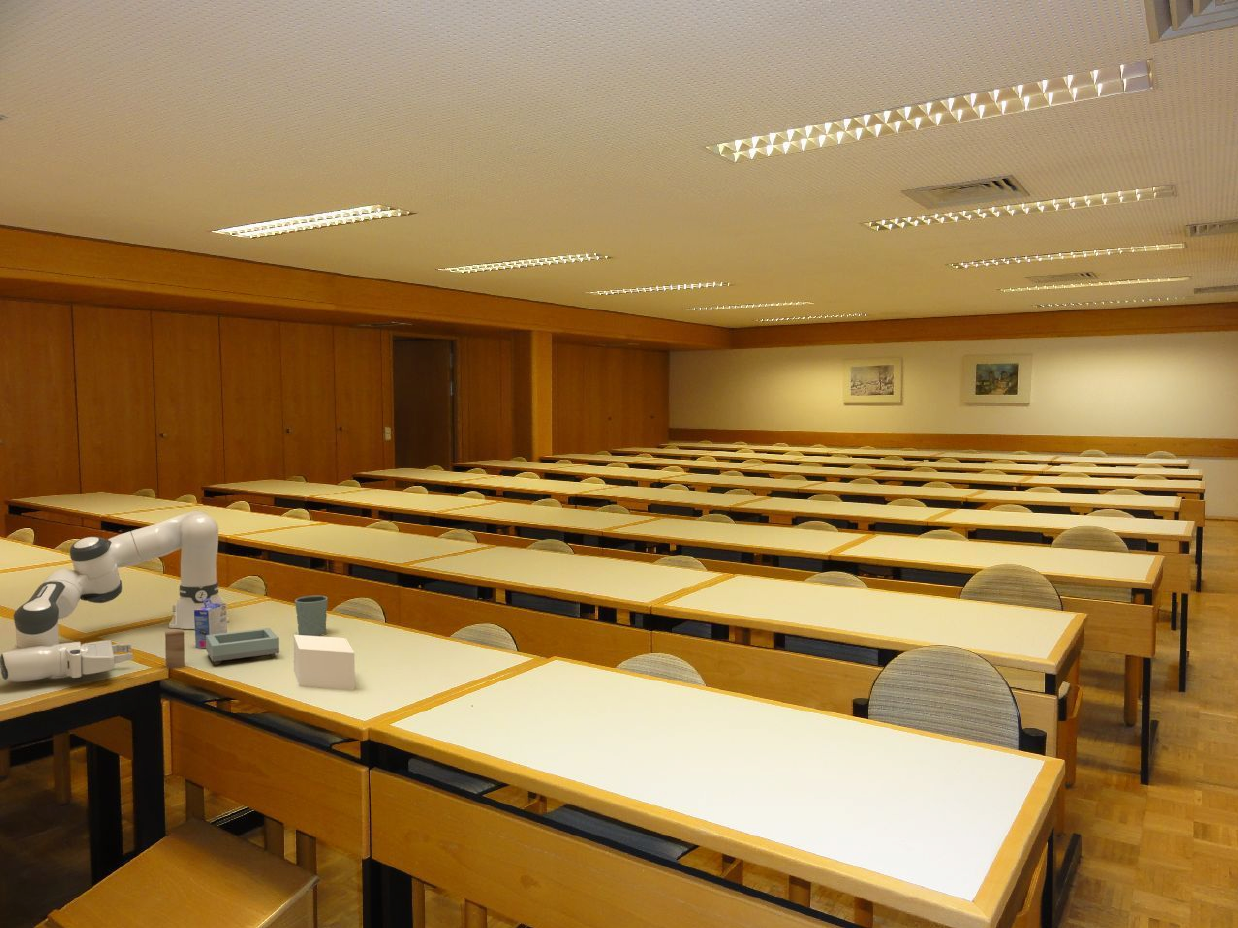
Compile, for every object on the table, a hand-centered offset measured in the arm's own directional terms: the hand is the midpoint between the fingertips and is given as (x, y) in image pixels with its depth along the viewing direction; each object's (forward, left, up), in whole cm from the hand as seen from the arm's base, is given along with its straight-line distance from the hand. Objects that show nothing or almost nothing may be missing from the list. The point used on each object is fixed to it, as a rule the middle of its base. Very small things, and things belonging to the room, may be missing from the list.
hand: (132, 651), depth 236 cm
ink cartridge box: (-20, +23, -6) cm, 31 cm away
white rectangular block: (+34, +44, -6) cm, 56 cm away
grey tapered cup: (-17, +53, -6) cm, 56 cm away
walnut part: (0, +11, -6) cm, 12 cm away
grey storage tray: (0, +29, -6) cm, 29 cm away
